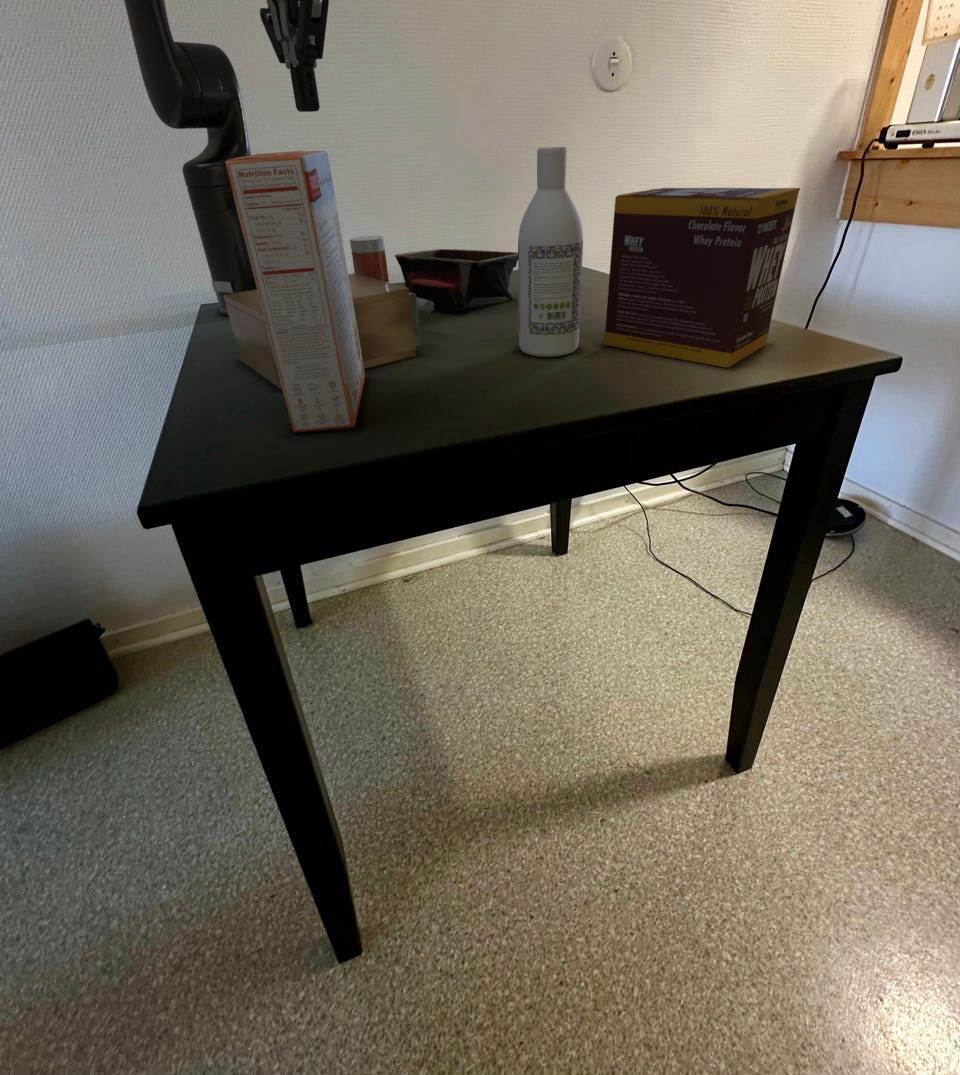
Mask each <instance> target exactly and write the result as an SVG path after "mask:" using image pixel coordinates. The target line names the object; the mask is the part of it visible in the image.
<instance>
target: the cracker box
mask: <svg viewBox="0 0 960 1075" xmlns="http://www.w3.org/2000/svg"><path fill="white" fill-rule="evenodd" d="M226 169H227V173H228V177H229V180H230V184H231V188H232V192H233V196H234V199H235V204H236V208H237V212H238V216H239V220H240V224H241V228H242V231H243V235H244V239H245V243H246V247H247V251H248V255H249V259H250V263H251V267H252V271H253V274H254V278H255V282H256V286H257V290H258V294H259V298H260V302H261V307H262V311H263V315H264V319H265V323H266V326H267V330H268V334H269V338H270V342H271V346H272V350H273V354H274V358H275V362H276V366H277V370H278V374H279V378H280V382H281V386H282V389H281V390H282V393H283V395H284V396H283V397H284V401H285V404H286V409H287V413H288V418H289V421H290V425H291V429H292V432H293V433H307V432H308V433H309V432H318V431H328V430H329V431H331V430H340V429H351V428H352V429H353V428H355V427H356V424H357V423H356V422H357V417H358V413H359V409H360V403H361V398H362V394H363V388H364V385H365V384H364V383H365V379H366V374H365V373H366V372H365V369H364V365H363V359H362V353H361V347H360V341H359V335H358V329H357V324H356V318H355V312H354V306H353V300H352V294H351V288H350V282H349V277H348V274H349V272H348V271H349V270H348V265H347V260H346V253H345V247H344V241H343V236H342V229H341V223H340V217H339V216H340V215H339V211H338V205H337V200H336V193H335V188H334V181H333V176H332V170H331V164H330V158H329V152H328V151H327V150H309V151H308V150H306V151H305V150H304V151H303V150H293V151H281V152H280V151H279V152H268V153H267V152H266V153H254V154H251V155H249V156H244V157H239V158H234V159H230V160H227V161H226Z"/></svg>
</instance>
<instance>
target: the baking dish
mask: <svg viewBox="0 0 960 1075" xmlns="http://www.w3.org/2000/svg"><path fill="white" fill-rule="evenodd" d="M394 257H395V259H396V262H397V263H398V265H399V268H400V270H401V274H402V277H403V280H404V287H407V288H409V292H411V293H414V294H416V297H418V298H422V299H425V300H429V301H431V302H433V304H434V309H433V311H450V312H451V311H452V312H463V311H465V309H466V308H467V307H468V305H469V304H470V303H471V301H473V299H483V298H506V299H509V300H510V301H513V296H512V294H511V293H510V291H509V287H510V279H511V275H512V273H513V271H514V269H515V268H517V266H518V251H517V252H516V251H498V250H482V249H481V250H478V249H459V248H458V249H457V248H456V249H455V248H454V249H453V248H451V249H450V248H435V249H427V250H418V251H409V252H402V253H396V254H394Z"/></svg>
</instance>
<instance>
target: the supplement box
mask: <svg viewBox="0 0 960 1075" xmlns="http://www.w3.org/2000/svg"><path fill="white" fill-rule="evenodd" d="M800 190H801V187H777V188H776V187H754V188H753V187H661V188H652V189H646V190H639V191H633V192H627V193H622V194H618V195H616V196H615V199H614V211H613V224H612V236H611V238H612V239H611V248H610V249H611V252H610V264H609V277H608V292H607V302H606V304H607V305H606V317H605V328H604V338H603V345H604V346H608V347H614V348H619V349H624V350H630V351H633V352H635V351H636V352H641V353H646V354H650V355H656V356H661V357H667V358H672V359H677V360H683V361H687V362H693V363H699V364H704V365H709V366H714V367H719V368H726V369H727V368H730V367H732V366H734V365H735V364H737V363H739V362H740V361H742V360H743V359H745V358H747V357H748V356H750V355H752V354H754V353H755V352H757V351H758V350H759V349H762V348H763V347H764V346H766V345H767V342H768V337H769V332H770V327H771V323H772V318H773V312H774V308H775V302H776V299H777V294H778V290H779V284H780V280H781V276H782V271H783V266H784V261H785V258H786V252H787V248H788V243H789V238H790V234H791V229H792V224H793V220H794V215H795V211H796V207H797V202H798V197H799V194H800Z"/></svg>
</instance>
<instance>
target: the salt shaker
mask: <svg viewBox="0 0 960 1075" xmlns="http://www.w3.org/2000/svg"><path fill="white" fill-rule="evenodd" d="M384 239H385V238H384V236H382V235H363V236H354V237H351V238H350V239H349V246H350V251H351V258H352V259H351V260H352V265H353V266H352V267H353V272H354V273H355V274H358V275H362V276H366V277H369V278H373V279H377V280H381V281H384V282H388V283H390V280H389V271H388V264H387V254H386V247H385V240H384ZM354 273H353V274H354Z"/></svg>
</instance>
